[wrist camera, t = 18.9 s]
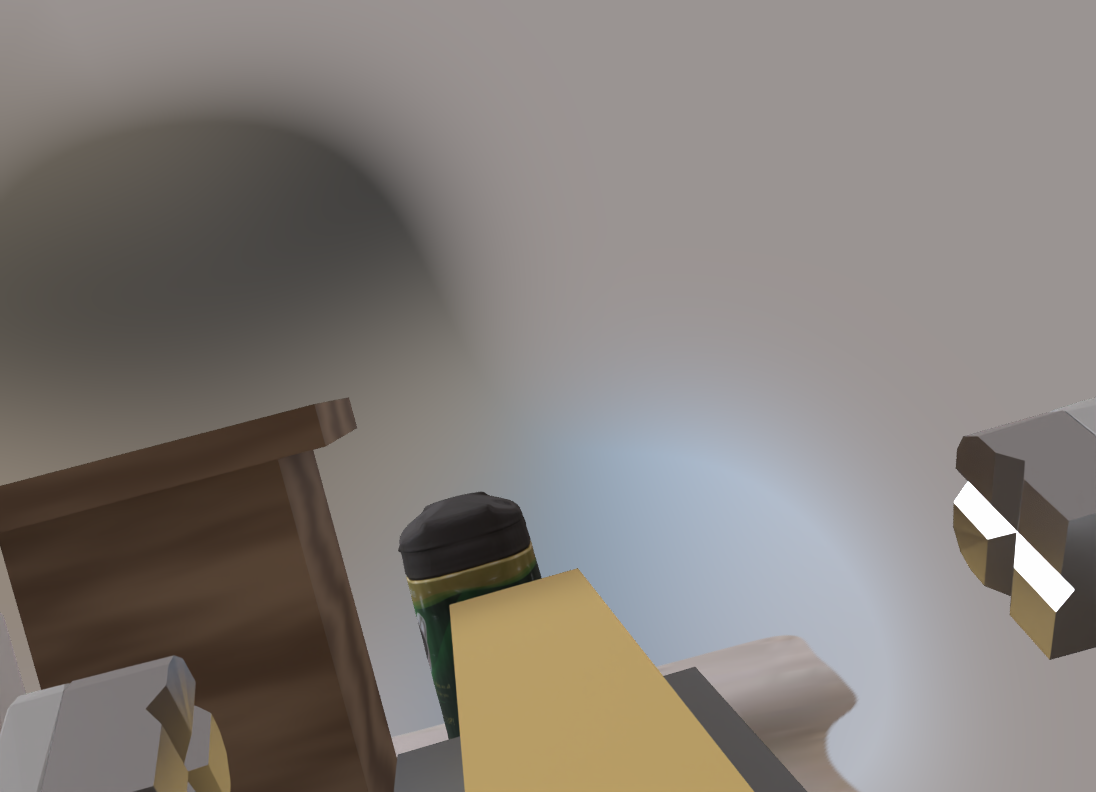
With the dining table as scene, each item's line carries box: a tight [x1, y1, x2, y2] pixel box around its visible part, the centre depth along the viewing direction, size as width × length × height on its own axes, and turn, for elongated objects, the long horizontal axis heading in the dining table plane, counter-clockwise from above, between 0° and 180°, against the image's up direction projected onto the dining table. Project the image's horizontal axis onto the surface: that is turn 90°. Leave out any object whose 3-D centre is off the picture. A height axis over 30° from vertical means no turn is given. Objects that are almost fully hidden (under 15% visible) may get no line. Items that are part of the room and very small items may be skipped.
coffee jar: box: [398, 492, 542, 739], centre depth 64 cm, size 10×8×19 cm
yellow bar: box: [449, 568, 754, 792], centre depth 24 cm, size 22×4×4 cm, turn 6°
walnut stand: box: [0, 398, 397, 792], centre depth 43 cm, size 14×14×26 cm
